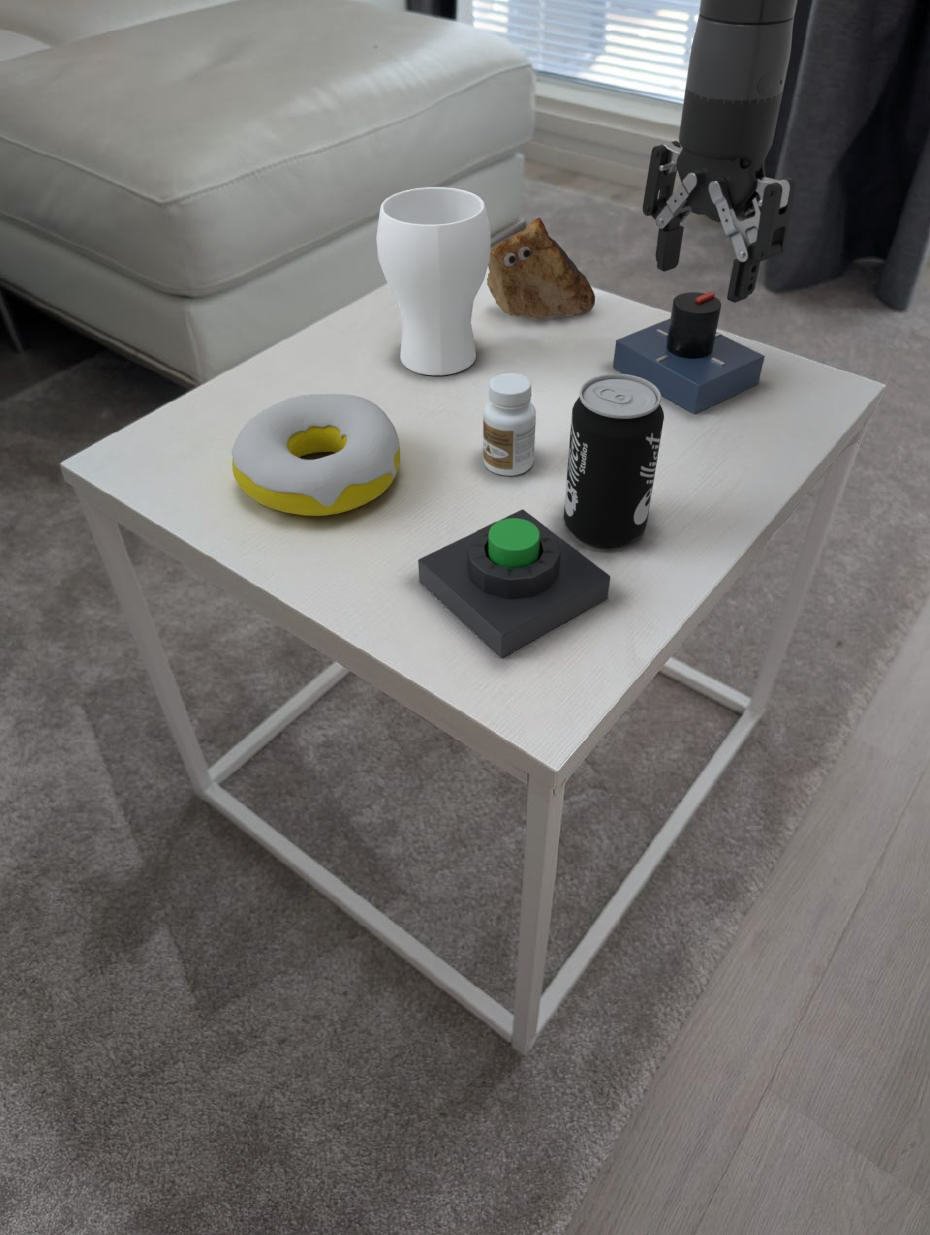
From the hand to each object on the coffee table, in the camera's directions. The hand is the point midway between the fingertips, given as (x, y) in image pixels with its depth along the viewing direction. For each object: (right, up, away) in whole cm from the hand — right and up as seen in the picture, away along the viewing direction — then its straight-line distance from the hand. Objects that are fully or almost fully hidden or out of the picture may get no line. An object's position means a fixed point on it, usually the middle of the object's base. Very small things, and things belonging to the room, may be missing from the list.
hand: (701, 283), depth 83 cm
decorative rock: (-14, +2, +17) cm, 22 cm away
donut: (-34, -19, -5) cm, 39 cm away
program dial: (0, -4, +5) cm, 6 cm away
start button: (-18, -26, -18) cm, 36 cm away
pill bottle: (-18, -17, -3) cm, 25 cm away
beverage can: (-10, -23, -10) cm, 27 cm away
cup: (-24, -4, +10) cm, 27 cm away
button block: (-18, -28, -15) cm, 37 cm away
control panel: (0, -7, +7) cm, 9 cm away
